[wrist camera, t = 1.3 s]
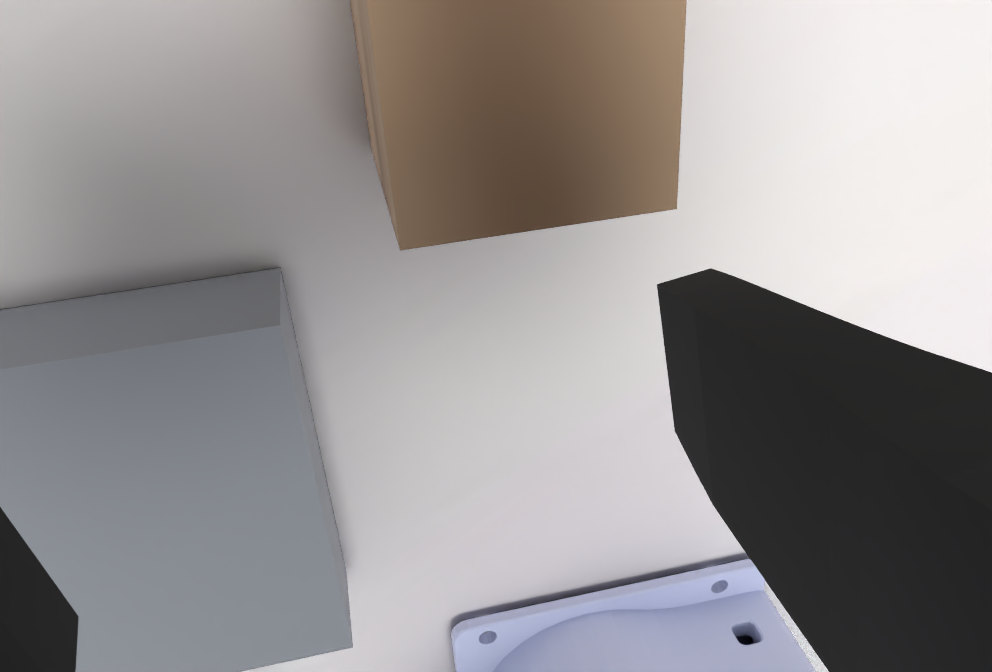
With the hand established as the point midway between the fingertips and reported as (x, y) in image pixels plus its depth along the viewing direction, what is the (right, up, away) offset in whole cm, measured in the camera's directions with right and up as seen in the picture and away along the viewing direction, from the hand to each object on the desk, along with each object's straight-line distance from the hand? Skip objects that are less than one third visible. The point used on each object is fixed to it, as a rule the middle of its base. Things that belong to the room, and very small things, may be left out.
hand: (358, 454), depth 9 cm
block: (+1, +7, +7) cm, 10 cm away
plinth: (-7, -2, +11) cm, 13 cm away
